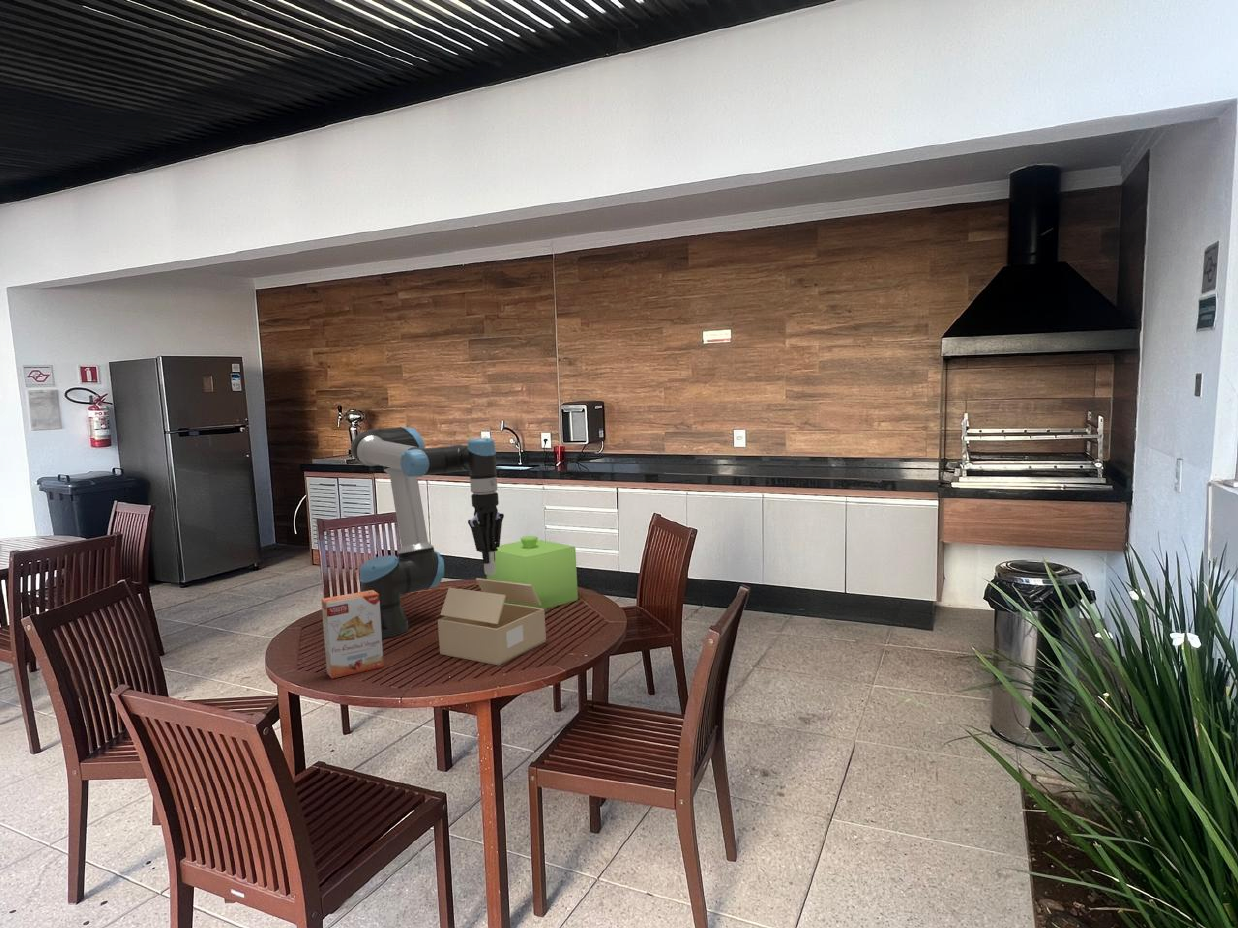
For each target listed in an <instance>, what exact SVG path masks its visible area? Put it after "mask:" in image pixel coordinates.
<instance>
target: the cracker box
mask: <svg viewBox="0 0 1238 928" xmlns="http://www.w3.org/2000/svg"><path fill="white" fill-rule="evenodd" d="M321 609H322V613H321V614H322V625H323V639H324V640H323V641H324V653H325V665H326V666H325V667H326V674H327V675H328V676H329V678H330V679H332V680H333V679H337V678H342V677H345V676H350V675H353V674H359V673H363V672H368V671H372V670H376V669H379V668H384V649H383V648H384V647H383V639H382V631H381V615H380V600H379V594H378V593H377V592H375V591H374V590H369V591H364V592H361V591H360V592H353V593H347V594H342V595H335V596H328V597H325V598H321Z"/></svg>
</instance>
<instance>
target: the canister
mask: <svg viewBox="0 0 1238 928" xmlns="http://www.w3.org/2000/svg"><path fill="white" fill-rule="evenodd" d="M497 549H498V550H497V551H495V574H493V575H487V574H486V579H489V580H497V581H505V582H513V583H522V584H530V585H532V586H533V588H534V591H535V593H536V595H537V597H538V599H539V601H540V603H541V606H538V605H531V604H524V603H516V602H509V601H504V603H506V604H513V605H520V606H527V607H535V608H542V609H544V610H548V609H551V608H554V607H558V606H561V605H565V604H569V603H572V602H576V601H578V600H579V593H578V577H577V576H578V575H577V574H578V573H577V570H578V569H577V554H576V553H577V552H576V547H575V546H573V545H568V544H564V543H560V542H559V543H557V542H552V541H548V540H543V539H539V537H538V536H536V535H526V536H523V537H520V541H516V542H511V543H505V544H500V546H499V547H497Z"/></svg>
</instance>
